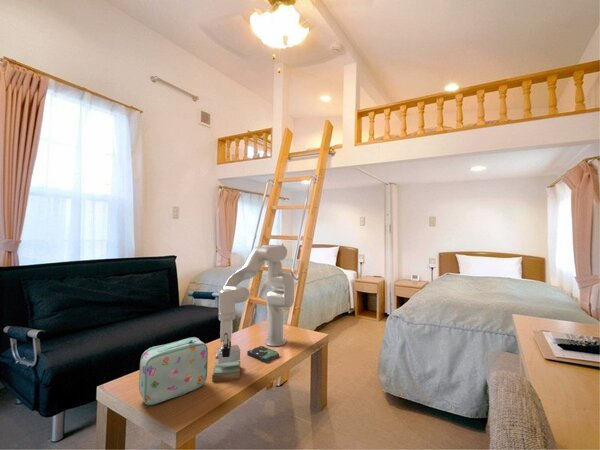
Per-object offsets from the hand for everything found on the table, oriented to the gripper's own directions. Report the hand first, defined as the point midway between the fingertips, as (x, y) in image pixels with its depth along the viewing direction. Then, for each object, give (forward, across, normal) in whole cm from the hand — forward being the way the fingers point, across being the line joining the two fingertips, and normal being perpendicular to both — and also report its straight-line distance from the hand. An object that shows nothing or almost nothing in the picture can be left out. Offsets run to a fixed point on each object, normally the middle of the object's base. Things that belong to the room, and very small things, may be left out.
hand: (226, 353), depth 136 cm
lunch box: (+10, +12, -20) cm, 25 cm away
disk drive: (+10, -17, +18) cm, 27 cm away
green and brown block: (+10, 0, 0) cm, 10 cm away
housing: (+3, 0, +1) cm, 3 cm away
